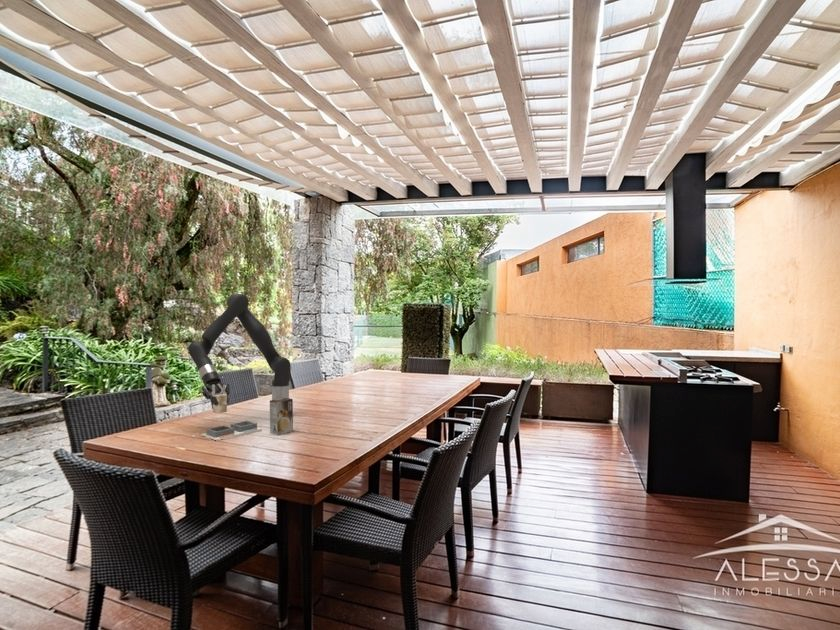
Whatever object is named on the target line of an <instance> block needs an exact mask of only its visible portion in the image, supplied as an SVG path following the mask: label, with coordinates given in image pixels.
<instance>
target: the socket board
mask: <svg viewBox="0 0 840 630" xmlns="http://www.w3.org/2000/svg"><path fill="white" fill-rule="evenodd" d="M258 432H262V428H260V427H258V423H257V422H254V421H250V420H244V421H239V422H234V423H233V422H232V423H230V424H229V426H228V425H225V424H224V425H219V426H214V427H210V428H206V430H205V433H204V432H203V433H201V436H202V435H204V436H206V437H209V438H212V439H214V440H220V441H222V440H221V439H224V440H227V439H226V438H229V439H231V438H230V437H233V438H236V436H237V437H241V436H245V435H244V434H246V435H249V434H254V433H258ZM240 435H241V436H240ZM206 437H205V438H206ZM214 440H213V441H214Z"/></svg>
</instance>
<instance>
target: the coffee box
mask: <svg viewBox="0 0 840 630" xmlns="http://www.w3.org/2000/svg"><path fill="white" fill-rule="evenodd" d="M289 398H290V397H289ZM289 398H281V399H275V400H272V399H271V400H269V433H270V434H271V433H272V434H273V435H275V434H276V436H279V435H280V436H281V435H284V434H288V433H291V432H294V409H293V408H294V407H293V404H294V403H293V401H294V400H293V398H290V399H289ZM287 432H288V433H287ZM283 433H284V434H283Z"/></svg>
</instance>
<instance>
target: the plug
mask: <svg viewBox="0 0 840 630" xmlns="http://www.w3.org/2000/svg"><path fill="white" fill-rule="evenodd" d="M215 397H216V399H217V401H218V405H217V406H215V405H214V404H213V403H212V407H213V408H212V412H213V413H216V414H223V413H227V412H228V404H227V395H225V394H218V393H217V394H215Z"/></svg>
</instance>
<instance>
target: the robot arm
mask: <svg viewBox="0 0 840 630" xmlns="http://www.w3.org/2000/svg"><path fill="white" fill-rule="evenodd" d="M249 302H250V300H249V297H248V296H247V295H246V294H243V293H234V294H231V295H229V296H228V297H227V300H226V304H227V308H226V309H225V310H224V311H223V312H222V313H221V315H219V316H218V317H217V318H216V319H215V320H214V321H213V322H212V323H210V324H209V326H208V327H207V328H206V329H205V331H204V332H203V333H202V335H201V339H202V342H200V341H192V342H191V343H189V345H188V347H187V352H188V354H189V356H190V357H191V359H192V360H193V362H194V364H195V365H196V368H197V371H198V372H199V377H200V379H201V380H202V383H203V386H202V387H201V389H200V390H199V391H200V393H201V394H202V395H203V397H204V398H205V399H206V400H211V401H212V405H213V404H214V405H215V406H217V405H218V401H217V399H216V397H215V395H216V394H217V395H218V394H225V395H227V405H228V404H229V401H230V399H229V398H228V397H229V395H230V394H231V389H230V384H229V383H226V384H224V383H223V382H222V380H221V377H220V375H219V374H218V371H217V369H216V368H215V366H214V364H213V361H212V360H211V358H210V356H209V354H210V353H211V351H212V349H213V347H214V344H215V342H216V341H217V340H218V338H219V337H221V336H222V334H223V333H224V331H225V330H226V329H227V328H228V327H229V325H230V324H231V323H232V322H233V321H234V320H235V319H236V318H238V320H239V322H240V324H241V325H242V327H243V328H244V330H245V331H246V333H247V334H248V336H249V338H250V339H251V340H252V342H253V343H254V345H255V346H256V347H257V348H258V350H259V351H260V353H261V355H263V356H264V359H265V360H266V363H267V365H268V366H269V369H270V370H271V371H272V372H273V373H274V378H273V380H272V381H271V400H275V399H281V398H289V399H291V397H290V382H291V372H292V370H291V368H292V367H291V365H292V364H291V361H290V360H289V359H288V358H286V357H283V356H281V354H280V353H278V351H277V350H276V348H275V346H274V344H273V341H272V336H271V334H270V333H269V331H268V330H267V328H266V327H265V325H263V323H262V322H260V319H258V318H257V317H256V316H255V315H253V313H252V312H251V311H250V309H249V307H248V306H249V304H250V303H249Z"/></svg>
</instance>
